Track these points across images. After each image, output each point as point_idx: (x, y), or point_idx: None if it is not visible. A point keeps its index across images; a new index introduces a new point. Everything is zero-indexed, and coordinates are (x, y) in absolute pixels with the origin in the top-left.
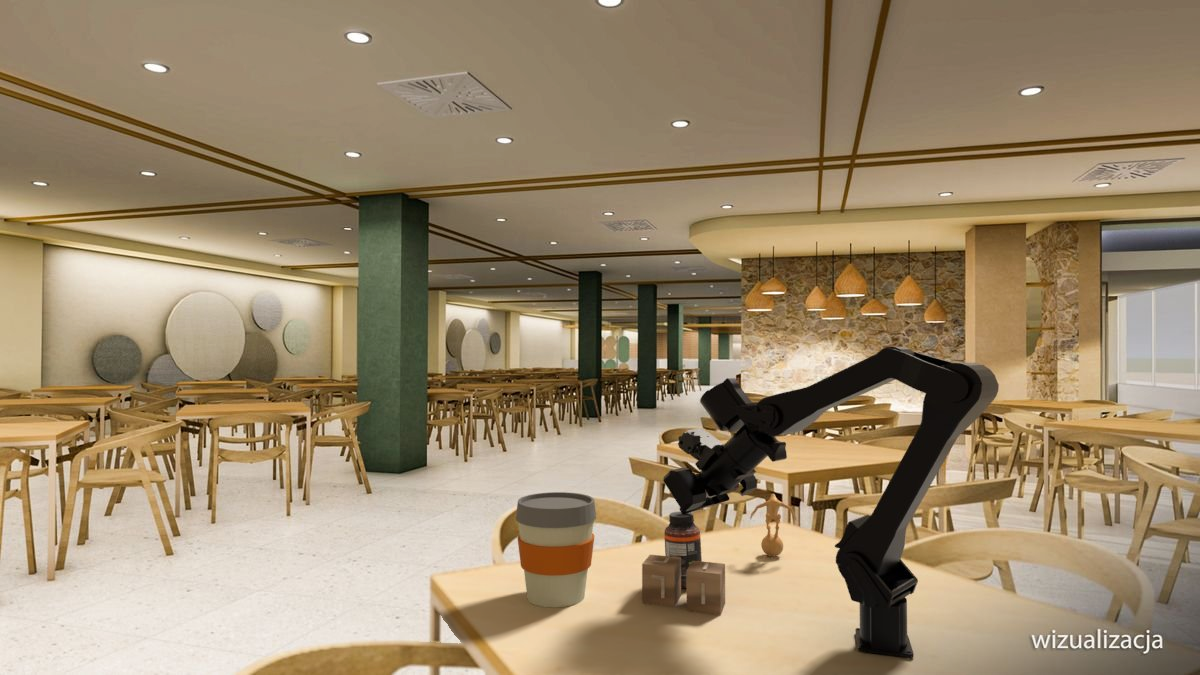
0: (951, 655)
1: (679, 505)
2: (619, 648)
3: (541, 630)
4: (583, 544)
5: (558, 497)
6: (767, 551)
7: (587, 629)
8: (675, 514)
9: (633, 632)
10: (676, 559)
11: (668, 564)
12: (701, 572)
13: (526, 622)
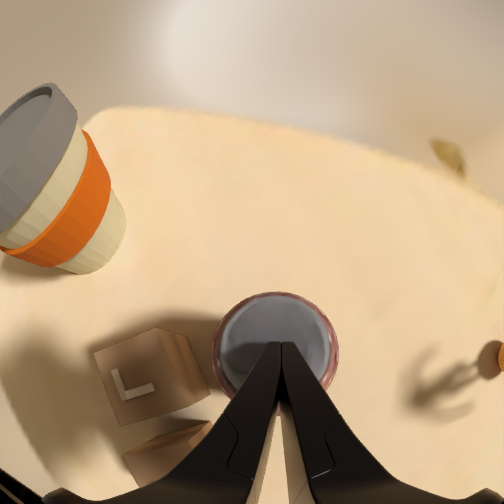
0: None
1: (8, 474)
2: (30, 402)
3: (20, 299)
4: (13, 254)
5: (49, 100)
6: (500, 359)
7: (38, 343)
8: (249, 333)
9: (59, 399)
10: (166, 405)
11: (125, 406)
12: (137, 484)
13: (27, 270)
